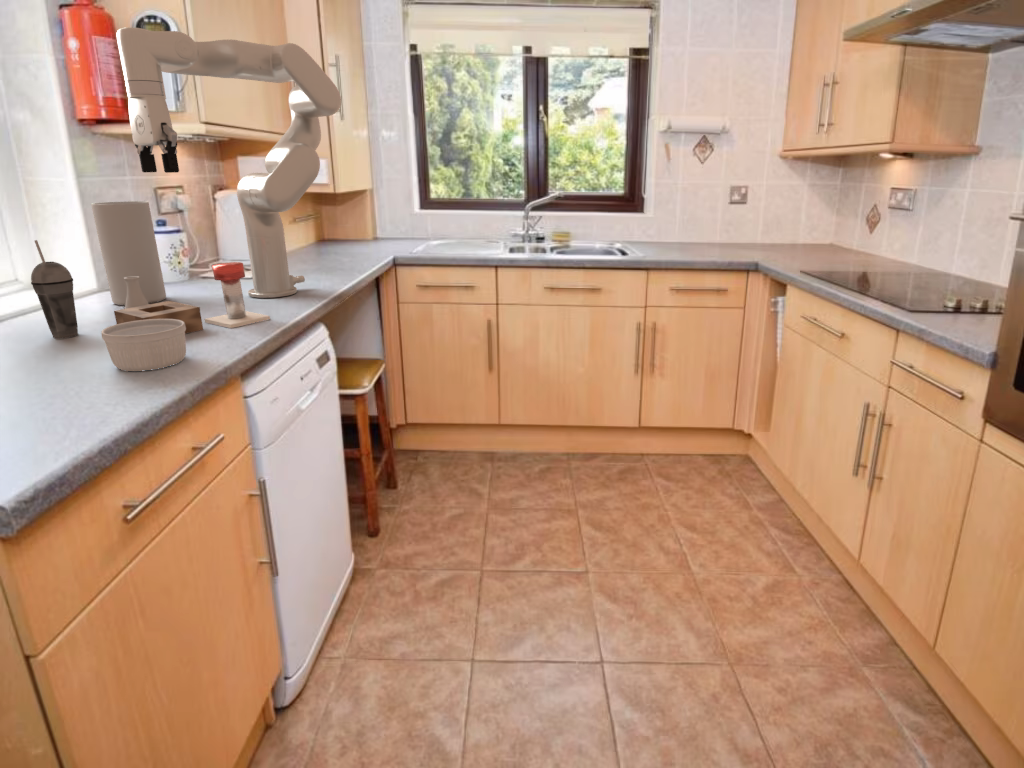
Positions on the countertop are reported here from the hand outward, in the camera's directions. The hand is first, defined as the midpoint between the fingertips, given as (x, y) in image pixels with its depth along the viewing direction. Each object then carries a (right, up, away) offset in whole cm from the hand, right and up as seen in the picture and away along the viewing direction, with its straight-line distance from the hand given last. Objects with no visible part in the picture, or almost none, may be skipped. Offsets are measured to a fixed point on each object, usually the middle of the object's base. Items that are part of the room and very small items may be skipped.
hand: (160, 172), depth 149 cm
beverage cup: (-13, -39, -13) cm, 43 cm away
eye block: (+6, -38, -10) cm, 39 cm away
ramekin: (+16, -45, -31) cm, 57 cm away
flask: (-5, -34, 0) cm, 35 cm away
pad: (+18, -34, -1) cm, 39 cm away
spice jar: (+18, -34, -1) cm, 38 cm away
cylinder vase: (-17, -27, +21) cm, 38 cm away
